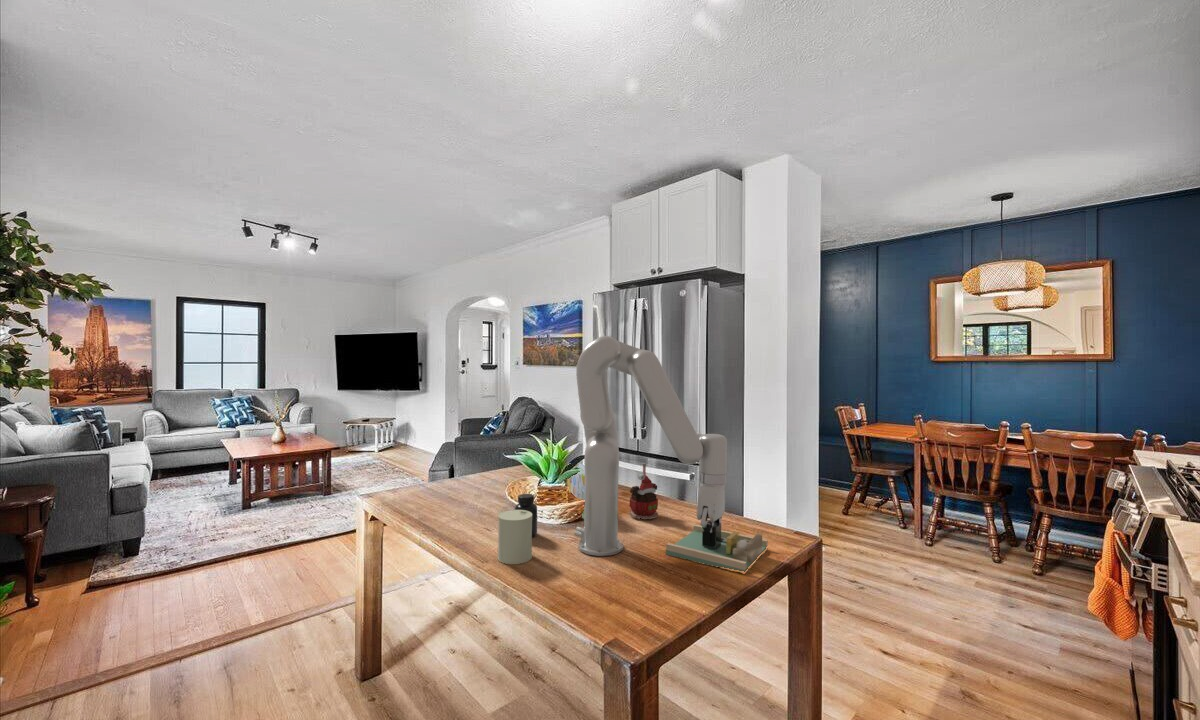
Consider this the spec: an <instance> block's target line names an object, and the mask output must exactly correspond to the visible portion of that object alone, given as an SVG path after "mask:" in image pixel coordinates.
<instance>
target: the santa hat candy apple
mask: <svg viewBox="0 0 1200 720" xmlns="http://www.w3.org/2000/svg"><path fill="white" fill-rule="evenodd" d="M646 466H647V464H646V463H642V473H638V475H637V479H638V480H641V483H640V485H639V486H637V485H633V486H631V488H630V491H629V492H630V495H631V497H630V498H629V508H630V509H631V510H629V516H630V517H632V518H634V519H639V520H641V519H642V520H651V519H655V518H657V517H658V515H659V514H658V511H657V510H658V508H659V499H658V498H657V494H656V491H657V490H658V484H656V483H654V482H652V480H651V479H650V477H649V476H648V475H646V469H647V467H646ZM640 518H641V519H640Z"/></svg>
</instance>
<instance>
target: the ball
mask: <svg viewBox="0 0 1200 720" xmlns="http://www.w3.org/2000/svg"><path fill="white" fill-rule="evenodd" d="M747 543H748V542H746V541H745V540H740V541H738V542H737V544H736V548H737V549H742V550H746V551H747Z"/></svg>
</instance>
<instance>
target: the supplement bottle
mask: <svg viewBox="0 0 1200 720" xmlns="http://www.w3.org/2000/svg"><path fill="white" fill-rule="evenodd" d="M534 502H535V495H534V494H532V493H521V494H518V496H517V504H516V505H515V507H514V510H526V511H529V512H531V513H532V537H533V538H535V537H536V536H537V535H538V506H537V504H535V503H534Z"/></svg>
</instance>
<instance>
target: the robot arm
mask: <svg viewBox="0 0 1200 720" xmlns="http://www.w3.org/2000/svg"><path fill="white" fill-rule="evenodd" d="M609 368H610V369H613V370H615V371H618V372H621V373H624V374H625V375H630V376H632V377H633V378H634V381H635V383H636V384H637V386H638V389H639V390H640V392H641V394H642V396H643V398H644V400H645V401H646V402H645V403H646V404H647V406H648V408H649V409H650V411H651V413H652V415H653V416H654V418H655V419H656V421H657V422H658V424H660V426H661V428H662V431H663V432H664V433H665V436H666V437H667V439H668V440H667V441H669V443H670V446H671V450H672V452H673V453H674V454H675V457H676V458H677V459H678V460H679V461H680V462H681V463H683V464H685V465H694V464H696V463H698V462H699V463H698V465H699V466H698V467H699V468H698V470H699V471H698V483H699V487H698V488H699V489H698V495H697V505H696V506H697V507H696V519H697V520H698V521H699V520H700V523H699V524H700V526H702V531H703V545H706V546H710V547H714V532H713V527H714V522H716V523H721V524H722V517H723V516H724V515H725V513H726V512H725V511H726V490H725V486H727V471H728V470H727V469H728V468H727V466H728V465H727V463H728V462H727V461H728V455H727V453H728V440H727V438H726V436H725V435H723V434H719V433H704V434H702V433H697V432H696V430H695V427H694V426H693V424H692V422H691V420H690V418H689V417H688V415H687V412H686V411H685V408H684V407H683V404H682V402H681V401H680V398H679V397H678V394H677V393H676V391H675V389H674V387H673V385H672V383H671V381H670V380H669V377H668V375H667V374H666V372H665V370H664V367H663V366H662V364H661V361H660V360H659V358H658V357H657V355H656V353H654V352H652V351H651V350H648V349H642V348H639V347H636V346H633V345H630V344H627V343H624V342H622V341H619V340H617V339H616V338H614V337H612V336H610V335H609V336H608V335H602V336H600V337H597V338H596V339H594V340H593V341H591V342H590V343H589V344H587V346H586V347H584V349H583V351H582V352H581V353H580V356H579V357H578V360H577V363H576V371H575V372H576V386H577V393H578V394H577V395H578V400H579V401H578V402H579V411H580V414H579V416H580V420H581V423H582V425H583V431H584V438H585V443H586V445H585V446H586V447H585V451H584V464H583V465H584V466H585V509H584V519H583V521H584V522H583V524H584V525H583V527H581V526H576V528H575V531H574V532H573V535H574V536H576V537H580V541H579V542H578V550H579V551H580V552H581V553H583V554H585V555H588V556H593V557H594V556H595V557H608V556H613V555H617V554H618V553H619V554H620V552H622V550H624V544H623V542H622V541H621V540H620V539H619V537H618V536H619V535H618V533H619V532H618V529H619V528H618V527H619V471H620V470H619V469H620V450H619V442H618V437H617V435H618V434H617V429H616V422H615V415H614V409H613V405H612V403H611V400H610V395H609V387H608V386H609V385H608V379H607V378H608V377H607V373H608V372H607V371H608V369H609ZM707 523H711V524H710V525H709V524H707Z"/></svg>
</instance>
